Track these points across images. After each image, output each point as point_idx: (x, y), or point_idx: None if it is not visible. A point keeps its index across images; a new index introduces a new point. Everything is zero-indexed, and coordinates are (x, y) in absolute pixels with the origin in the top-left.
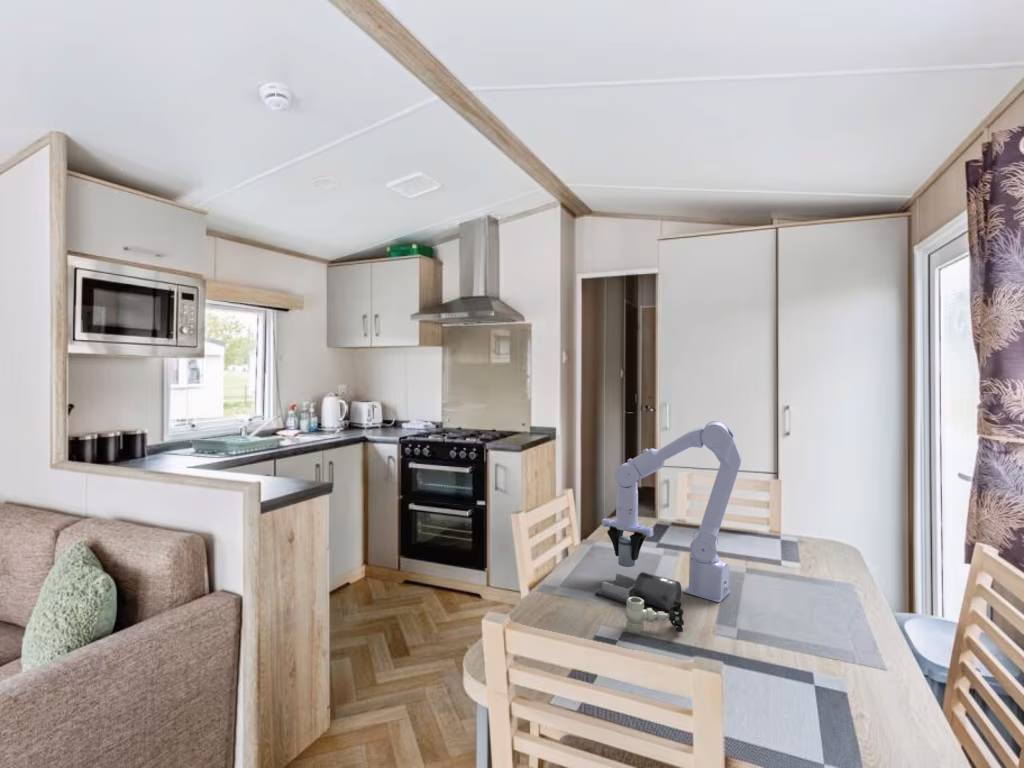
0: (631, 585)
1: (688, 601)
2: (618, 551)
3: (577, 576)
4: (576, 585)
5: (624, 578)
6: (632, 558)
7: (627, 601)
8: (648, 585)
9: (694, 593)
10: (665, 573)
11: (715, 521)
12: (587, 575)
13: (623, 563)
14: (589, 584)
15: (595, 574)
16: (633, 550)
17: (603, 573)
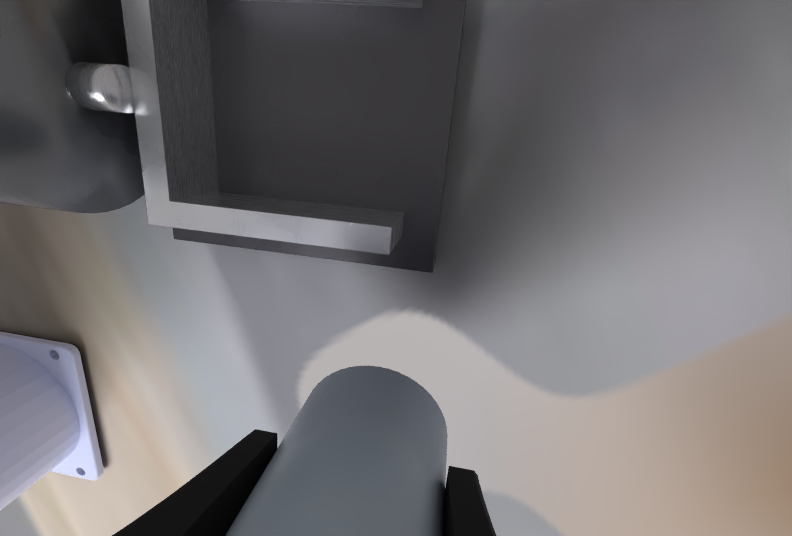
0: (265, 202)
1: (5, 257)
2: (429, 510)
3: (765, 223)
4: (714, 30)
5: (308, 214)
6: (258, 441)
7: None
8: None
9: (13, 343)
10: None
11: None
12: (683, 287)
13: (362, 382)
14: (605, 129)
15: (626, 335)
16: (168, 516)
17: (575, 378)
